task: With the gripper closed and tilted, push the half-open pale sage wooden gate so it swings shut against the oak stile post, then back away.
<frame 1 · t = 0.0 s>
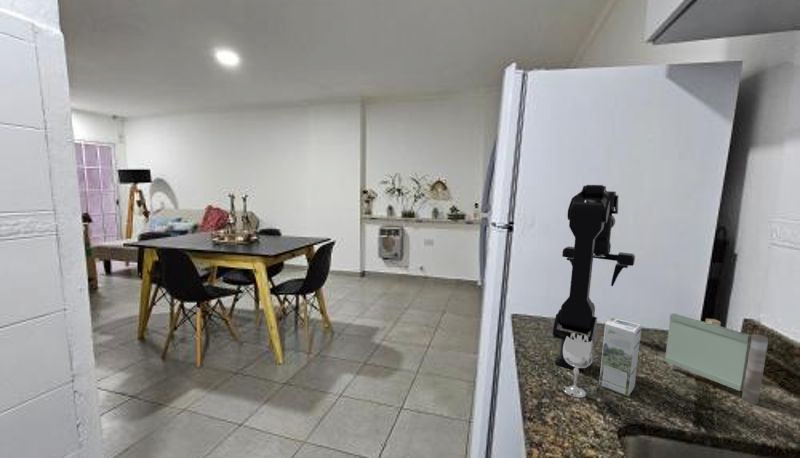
hand: (594, 283, 107), 15 cm above the worktop, tool pointing down, fingers open, 9 cm apart
gate: (704, 349, 79), point 8 cm above the worktop, hinge at 35.0°
wineglass: (574, 392, 74), on the worktop
gate frame: (749, 400, 73), on the worktop
syrup box: (616, 387, 76), on the worktop
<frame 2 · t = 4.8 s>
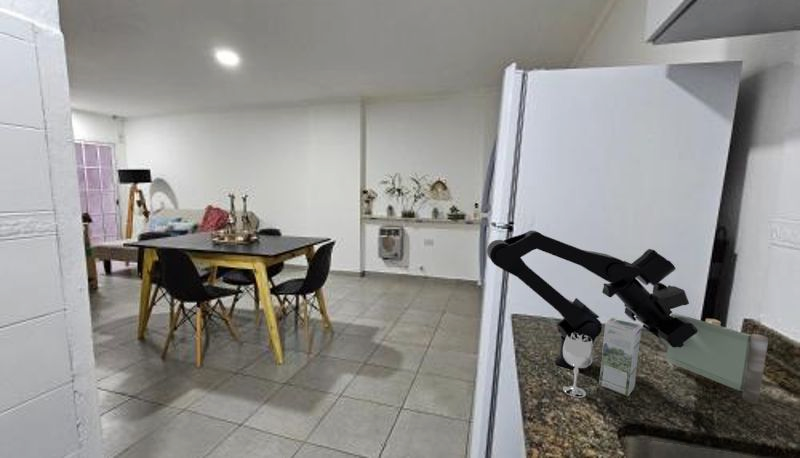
hand: (680, 345, 83), 7 cm above the worktop, tool tilted 45°, fingers closed
gate: (705, 349, 79), point 8 cm above the worktop, hinge at 32.9°, touching gripper
everything else where it was.
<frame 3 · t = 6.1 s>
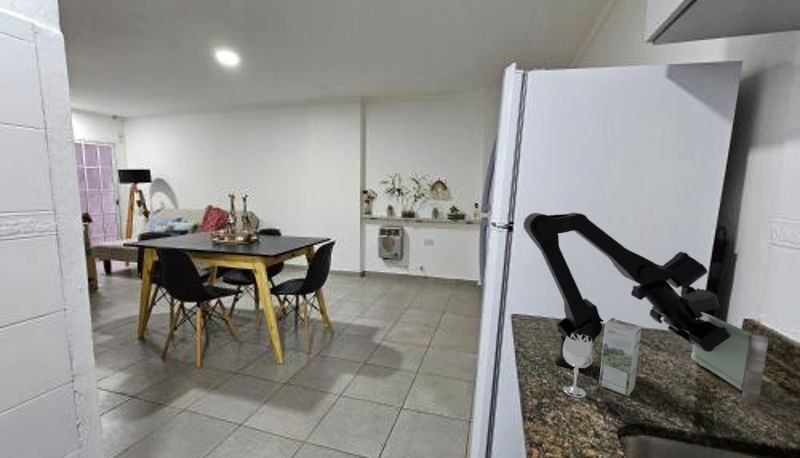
hand: (708, 349, 83), 6 cm above the worktop, tool tilted 45°, fingers closed, pressing on gate
gate: (720, 348, 80), point 8 cm above the worktop, hinge at 2.7°, touching gripper
everything else where it was.
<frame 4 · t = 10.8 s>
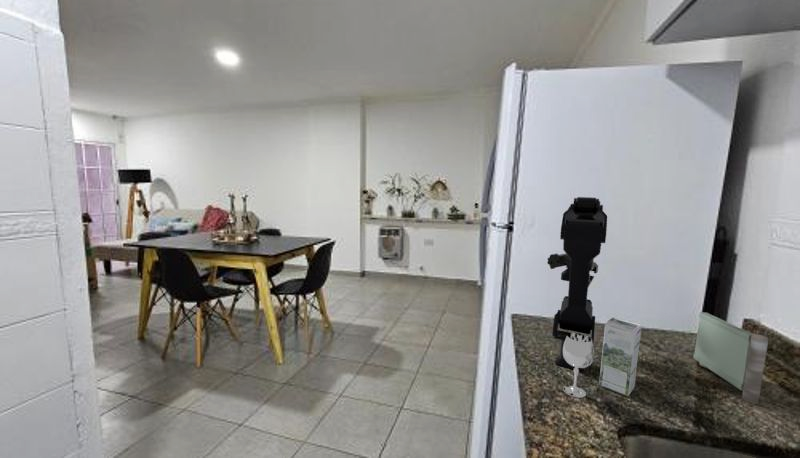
hand: (577, 301, 97), 12 cm above the worktop, tool pointing down, fingers closed
gate: (722, 348, 80), point 8 cm above the worktop, hinge at 0.4°, touching gate frame
everything else where it was.
at the end: gate at +0° (first picture: +35°); syrup box moved 0.2 cm from its start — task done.
